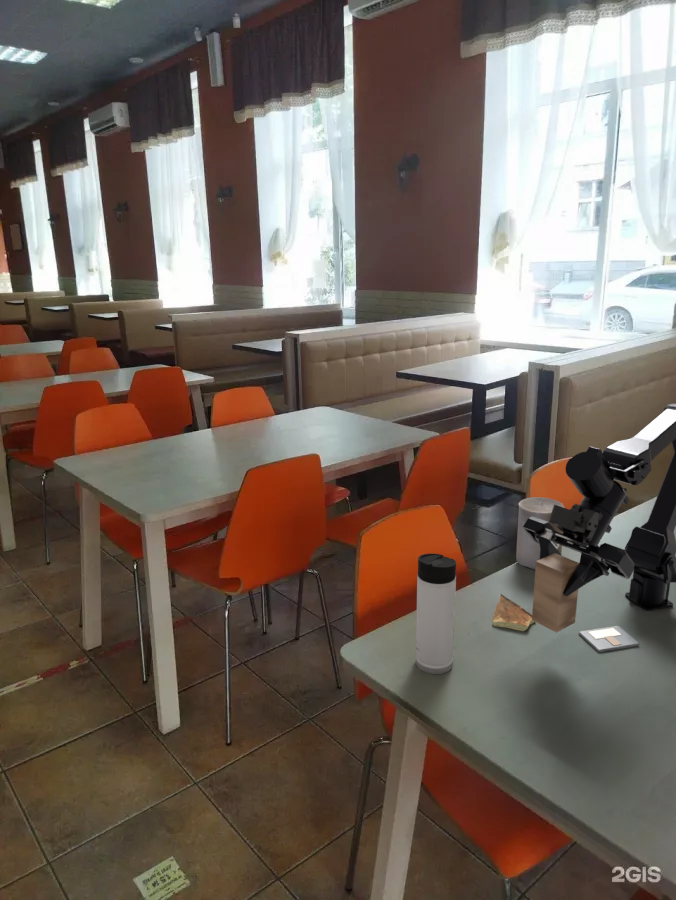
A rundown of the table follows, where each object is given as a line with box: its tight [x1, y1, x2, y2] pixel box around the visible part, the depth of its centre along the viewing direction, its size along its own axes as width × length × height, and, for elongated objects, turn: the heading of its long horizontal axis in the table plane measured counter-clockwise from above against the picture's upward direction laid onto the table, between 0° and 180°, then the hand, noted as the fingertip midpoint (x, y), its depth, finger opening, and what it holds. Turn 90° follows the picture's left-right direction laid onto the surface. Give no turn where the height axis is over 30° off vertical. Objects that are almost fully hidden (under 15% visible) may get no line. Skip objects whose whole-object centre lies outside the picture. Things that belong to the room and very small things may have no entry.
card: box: [578, 625, 640, 653], centre depth 119 cm, size 8×6×1 cm
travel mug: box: [415, 553, 457, 675], centre depth 110 cm, size 6×7×20 cm
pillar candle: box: [515, 496, 565, 570], centre depth 148 cm, size 10×10×15 cm
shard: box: [492, 594, 536, 632], centre depth 128 cm, size 11×8×2 cm
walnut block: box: [531, 553, 580, 633], centre depth 111 cm, size 5×5×11 cm
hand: (550, 588), depth 110 cm, fingers closed on walnut block, 5 cm apart
